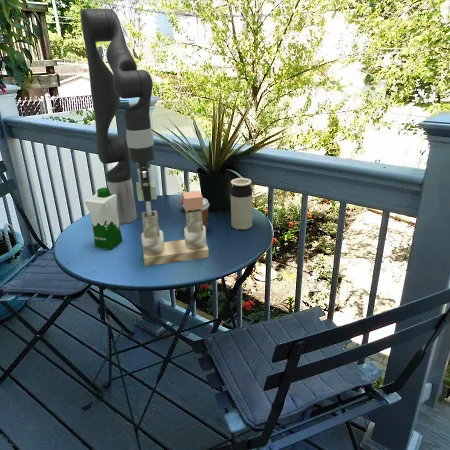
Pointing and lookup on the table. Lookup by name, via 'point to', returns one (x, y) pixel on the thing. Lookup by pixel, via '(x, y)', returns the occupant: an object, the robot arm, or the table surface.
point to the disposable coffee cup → (204, 212)
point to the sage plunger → (141, 198)
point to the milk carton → (104, 219)
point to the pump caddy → (174, 250)
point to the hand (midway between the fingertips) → (147, 196)
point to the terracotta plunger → (192, 200)
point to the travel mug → (241, 203)
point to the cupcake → (182, 196)
